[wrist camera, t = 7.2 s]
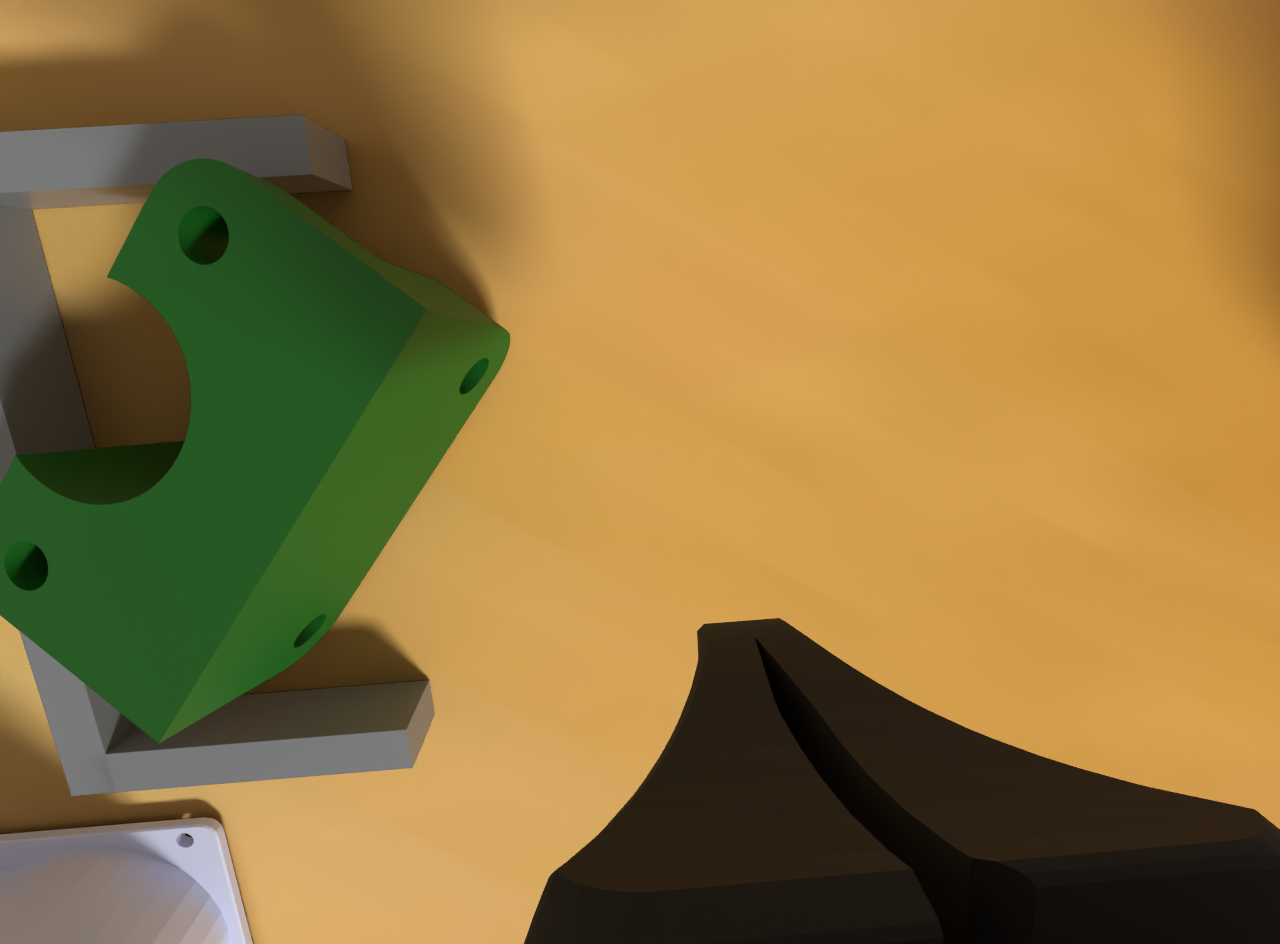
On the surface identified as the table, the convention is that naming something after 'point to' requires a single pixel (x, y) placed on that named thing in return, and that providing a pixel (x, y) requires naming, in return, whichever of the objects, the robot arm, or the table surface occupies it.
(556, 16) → the table surface
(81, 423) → the tool bay
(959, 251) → the table surface
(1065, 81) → the table surface
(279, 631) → the clamp
